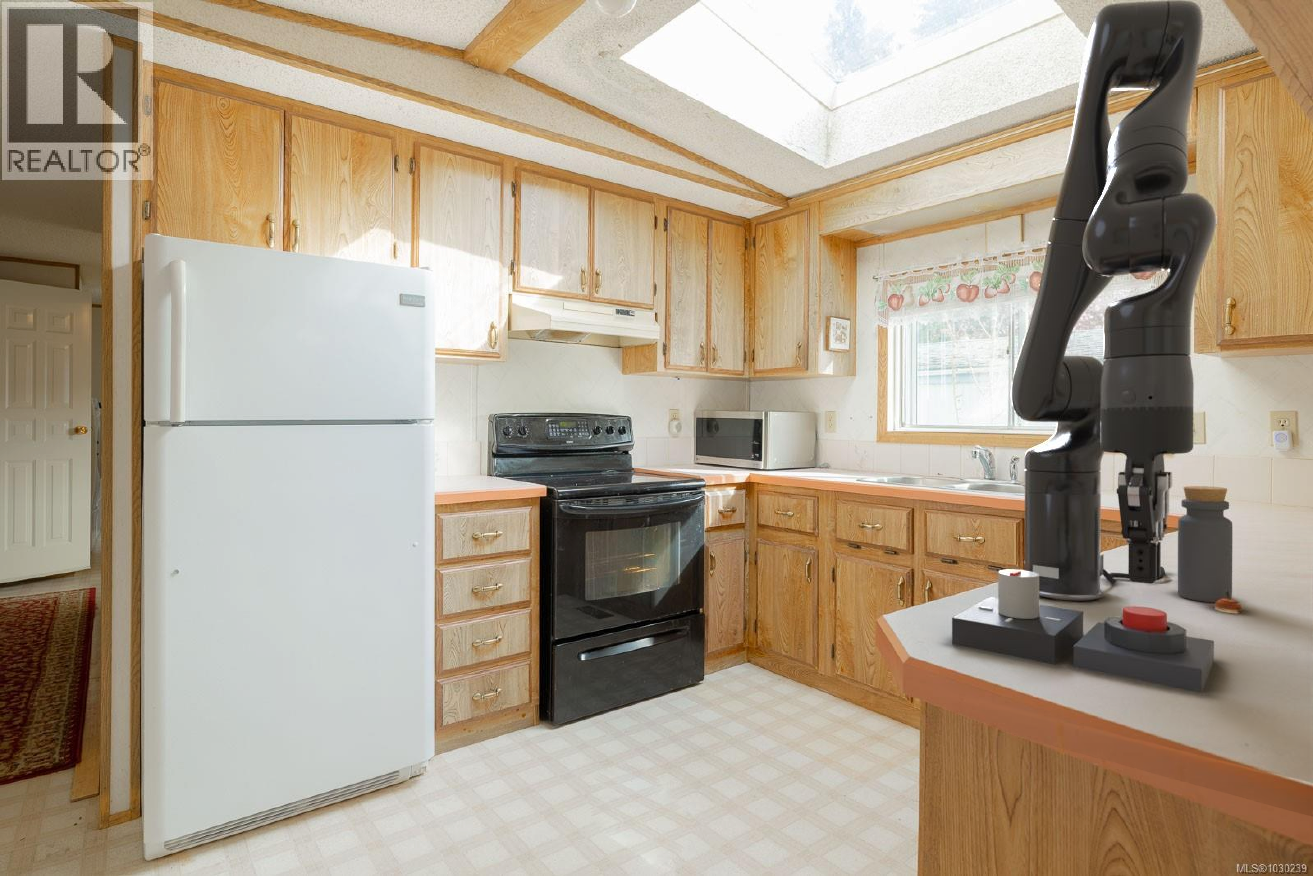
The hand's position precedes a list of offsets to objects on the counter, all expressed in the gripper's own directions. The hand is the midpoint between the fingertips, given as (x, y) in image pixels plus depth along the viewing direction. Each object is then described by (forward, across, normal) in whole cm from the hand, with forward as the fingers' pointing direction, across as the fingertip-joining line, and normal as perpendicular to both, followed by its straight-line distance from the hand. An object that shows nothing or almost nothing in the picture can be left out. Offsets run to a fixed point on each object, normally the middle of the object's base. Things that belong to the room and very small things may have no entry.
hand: (1144, 579), depth 70 cm
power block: (+9, 0, 0) cm, 9 cm away
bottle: (+9, +37, -2) cm, 38 cm away
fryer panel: (+9, 0, +12) cm, 14 cm away
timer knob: (+5, 0, +12) cm, 13 cm away
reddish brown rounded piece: (+9, +31, -4) cm, 33 cm away
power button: (+5, 0, 0) cm, 5 cm away
